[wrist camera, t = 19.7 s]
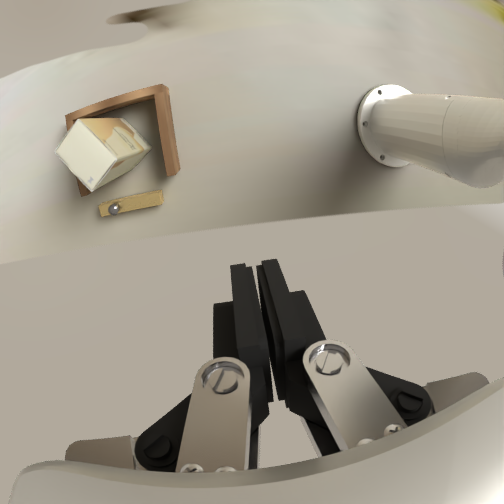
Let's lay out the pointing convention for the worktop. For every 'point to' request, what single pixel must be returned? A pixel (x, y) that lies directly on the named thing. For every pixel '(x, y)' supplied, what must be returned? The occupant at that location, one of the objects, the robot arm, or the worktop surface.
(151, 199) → the bar
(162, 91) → the cradle
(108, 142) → the skincare box
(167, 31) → the worktop surface
